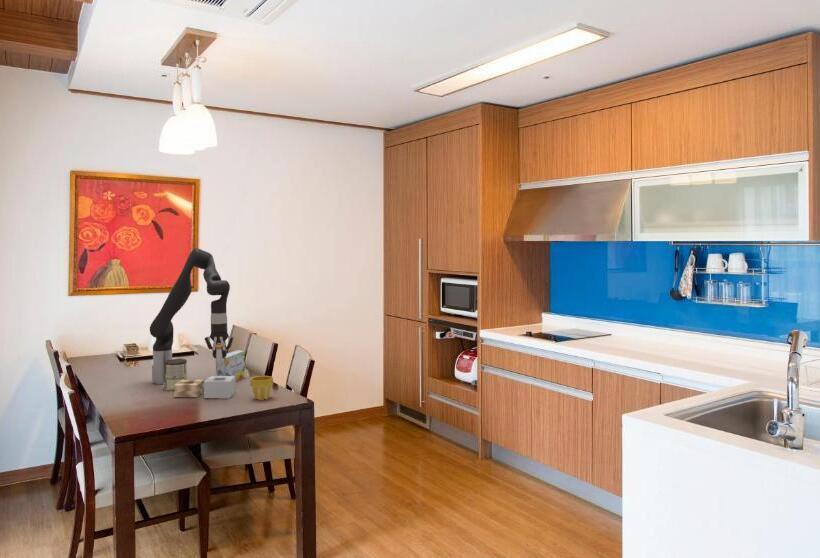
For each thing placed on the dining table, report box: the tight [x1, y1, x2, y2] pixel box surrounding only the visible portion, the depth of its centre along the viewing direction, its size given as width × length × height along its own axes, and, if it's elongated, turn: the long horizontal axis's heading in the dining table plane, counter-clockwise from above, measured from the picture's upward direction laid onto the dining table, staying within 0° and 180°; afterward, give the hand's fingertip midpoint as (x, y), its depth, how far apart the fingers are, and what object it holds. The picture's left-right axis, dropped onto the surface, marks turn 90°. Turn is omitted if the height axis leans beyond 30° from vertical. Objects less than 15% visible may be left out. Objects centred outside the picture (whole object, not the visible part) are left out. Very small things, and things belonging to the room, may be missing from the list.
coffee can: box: [165, 358, 188, 391], centre depth 309 cm, size 10×10×14 cm
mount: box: [173, 379, 205, 398], centre depth 297 cm, size 11×11×6 cm
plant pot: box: [250, 375, 274, 401], centre depth 291 cm, size 10×10×10 cm
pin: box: [215, 343, 224, 375], centre depth 295 cm, size 4×4×14 cm
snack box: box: [216, 349, 246, 382], centre depth 325 cm, size 21×6×15 cm, turn 168°
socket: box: [203, 375, 237, 399], centre depth 296 cm, size 12×12×8 cm
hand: (219, 357), depth 295 cm, fingers closed on pin, 3 cm apart
